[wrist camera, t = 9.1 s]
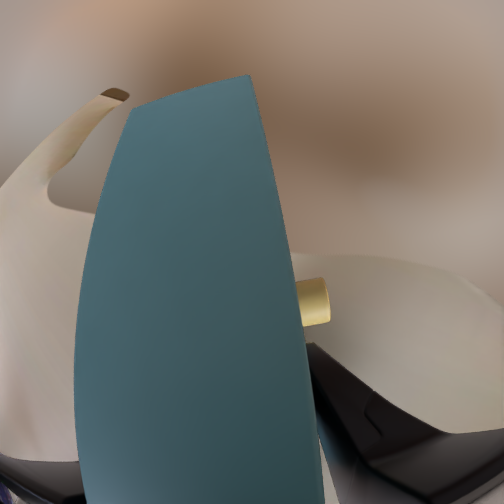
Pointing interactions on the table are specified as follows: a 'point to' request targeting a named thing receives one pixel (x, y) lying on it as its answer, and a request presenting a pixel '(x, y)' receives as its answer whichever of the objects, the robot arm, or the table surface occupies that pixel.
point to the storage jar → (5, 494)
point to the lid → (195, 317)
